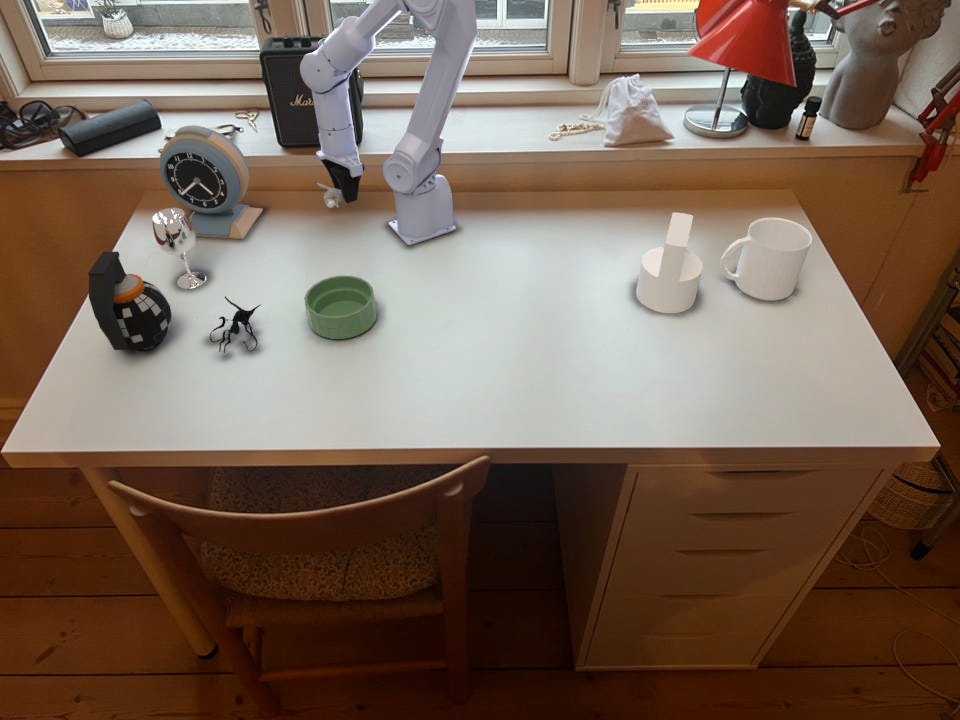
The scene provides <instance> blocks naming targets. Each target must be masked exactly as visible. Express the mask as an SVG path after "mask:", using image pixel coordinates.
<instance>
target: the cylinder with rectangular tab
mask: <svg viewBox="0 0 960 720" xmlns="http://www.w3.org/2000/svg"><path fill="white" fill-rule="evenodd" d="M693 220H694V215H692V214H688V213H684V212H676V211H675V212H672V214H671V218H670V222H669V226H668V230H667V233H666V237H665V242H664V246H658V247H653V248H651V249H649V250H647V251H646V252H645V253H643V255H642V257H641V261H640V267H639V273H638V277H637V283H636V288H635V289H636V290H635V295H636V298H637V300H638V301H639V303H640V304H642V305H643V306H644V307H645V308H647V309H650V310H652V311H654V312H657V313H661V314H680V313H682V312H685V311H688V310H689V309H691V307H693V306H694V304H695V301H696V297H697V294H698V290H699V286H700V283H701V282H700V281H701V278H702V274H703V270H704V266H703V264H704V263H703V262H702V260H701V258H700V257H698V256H697V255H696V254H694V253H693V252H692V251H691V250H687V248H688V244H689V238H690V234H691V229H692V224H693Z"/></svg>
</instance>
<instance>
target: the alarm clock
mask: <svg viewBox="0 0 960 720" xmlns="http://www.w3.org/2000/svg"><path fill="white" fill-rule="evenodd" d="M159 159H160V160H159V170H160V175H161V179H162V182H163V184H164V186H165V187H166V189H167V191H168V192H169V193H170V195H171V196H172V197H173V198H174V199H175V200H177V202H179V203H180V204H182V205H183V206H185V207H186V208H187V209H190V210H192V211H193V212H192V213H191V214H190V215H189V216H188V218H189V219H190V221H191V223H192V225H193V227H194V229H195V233H196V237H205V238H218V239H232V240H233V239H235V240H244V239H245V237H246V236H247V234H248V233H249V231H250V230H251V229H252V227H253V225H254V224H255V223H256V221H257V220H258V218H259V217H260V215H261V214H262V212H263V211H264V208H262V207H254V206H253V207H252V206H250V205H247V204H242V203H240V202H241V201H242V199H243V198H244V197H245V195H246V193H247V192H248V189H249V185H250V171H249V170H250V169H249V165H248V163H247V160H246V158H245V155H244V154H243V152H242V150H241V149H240V147H239V146H238V145H236V143H235V142H234V141H233V140H231V139H230V138H229V137H228V136H226V135H224V134H222V133H221V132H218V131H215V130H214V129H211V128H208V127H206V126H202V125H195V124H193V125H191V124H190V125H184V126H181V127H179V128H178V129H177V130H176V131H175V132H174V135H173V136H171V138H170V139H169V140H168V141H167V142H166V143H165V144H164V146H163V148H162V150H161V152H160V158H159Z"/></svg>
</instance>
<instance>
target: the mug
mask: <svg viewBox="0 0 960 720" xmlns="http://www.w3.org/2000/svg"><path fill="white" fill-rule="evenodd" d="M812 242H813V236H812V234H811V232H810V230H808V229H807V228H806V226H803V225H801V224H800V223H798V222H795V221H793V220H790V219H786V218H781V217H763V218H759V219H755V220H754V221H752V222H751V223H750V224H749V226H748V228H747V233H746V235H745V237H742V238H738V239H736V240H735V241H734V242H732V243H731V244H730V245H728V246H727V248H725V250H724V252H723V253H722V255H721V256H720V257H721V258H720V264H719V270H720V271H721V273H723V275H724V277H725V278H726V279H728V280H730V281H734V282H735V285H736V286H737V288H738V289H739V291H741V292H742V293H743V294H745V295H747V296H748V297H751V298H753V299H756V300H760V301H767V302H769V301H770V302H775V301H781V300H784V299H786V298H788V297H789V296H791V295H792V294H793V293H794V290H795V287H796V285H797V282H798V280H799V277H800V274H801V271H802V269H803V267H804V263H805V261H806V258H807V255H808V254H809V250H810V247H811V244H812ZM740 247H742V249H741V252H740V256H739V259H738V263H737V266H736V270H735V273H732V272H731V271H729V269H728V268H727V266H726V263H727V260H728V259H729V258H730V256H731V255H732V254H733V252H735V251H736V250H737V249H738V248H740Z"/></svg>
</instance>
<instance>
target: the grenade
mask: <svg viewBox="0 0 960 720" xmlns="http://www.w3.org/2000/svg"><path fill="white" fill-rule="evenodd" d="M87 275H88V299H89V303H90V306H91V309H92V313H93V315H94V318H95V320H96V321H97V324H98V327H99V329H100V330H101V332H102V333H103V334H104V336H105V337H106V338H107V340H108V341H109V343H110V345H111V347H112V348H113V350H114V351H125V350H126V351H128V350H130V351H134V352H147V351H150V350H153V349H155V348H157V347H158V346H160V345H161V344H162V343H163V341H164V339H165V338H166V336H167V335H168V332H169V331H170V329H171V327H172V314H173V313H172V309H171V305H170V303H169V301H168V300H167V298H166V296H165V295H164V293H163V292H162V291H161V290H160V289H159V288H158V287H157V286H156V285H154V283H151V282H149V281H146V280H143V278H142V277H141V276H140V275H138V274H134V273H126V271H125V269H124V267H123V264H122V262H121V260H120V253H119V251H102V253H101V254H100V255H99V257H98V258H97V259H96V261H95V263H94V264H93V265H92V267H90V269H89V271H88V272H87Z"/></svg>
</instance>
